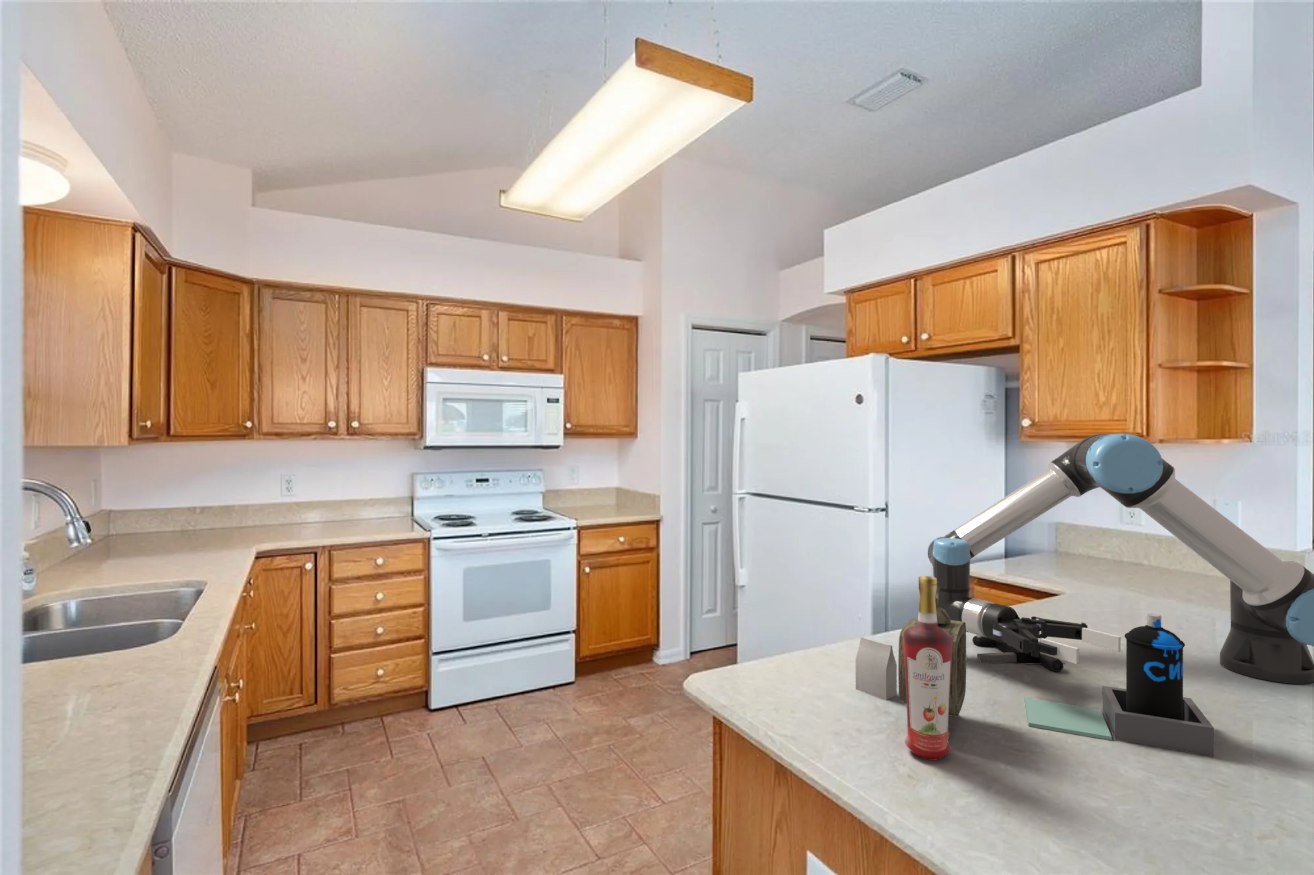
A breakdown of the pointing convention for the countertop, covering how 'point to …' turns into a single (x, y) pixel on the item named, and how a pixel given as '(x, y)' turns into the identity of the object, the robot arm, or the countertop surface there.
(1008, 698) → the countertop surface
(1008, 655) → the door handle
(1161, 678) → the aerosol can
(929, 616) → the liquor
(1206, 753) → the grey square tray
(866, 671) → the tea bag
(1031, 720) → the occupied pad
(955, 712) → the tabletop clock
